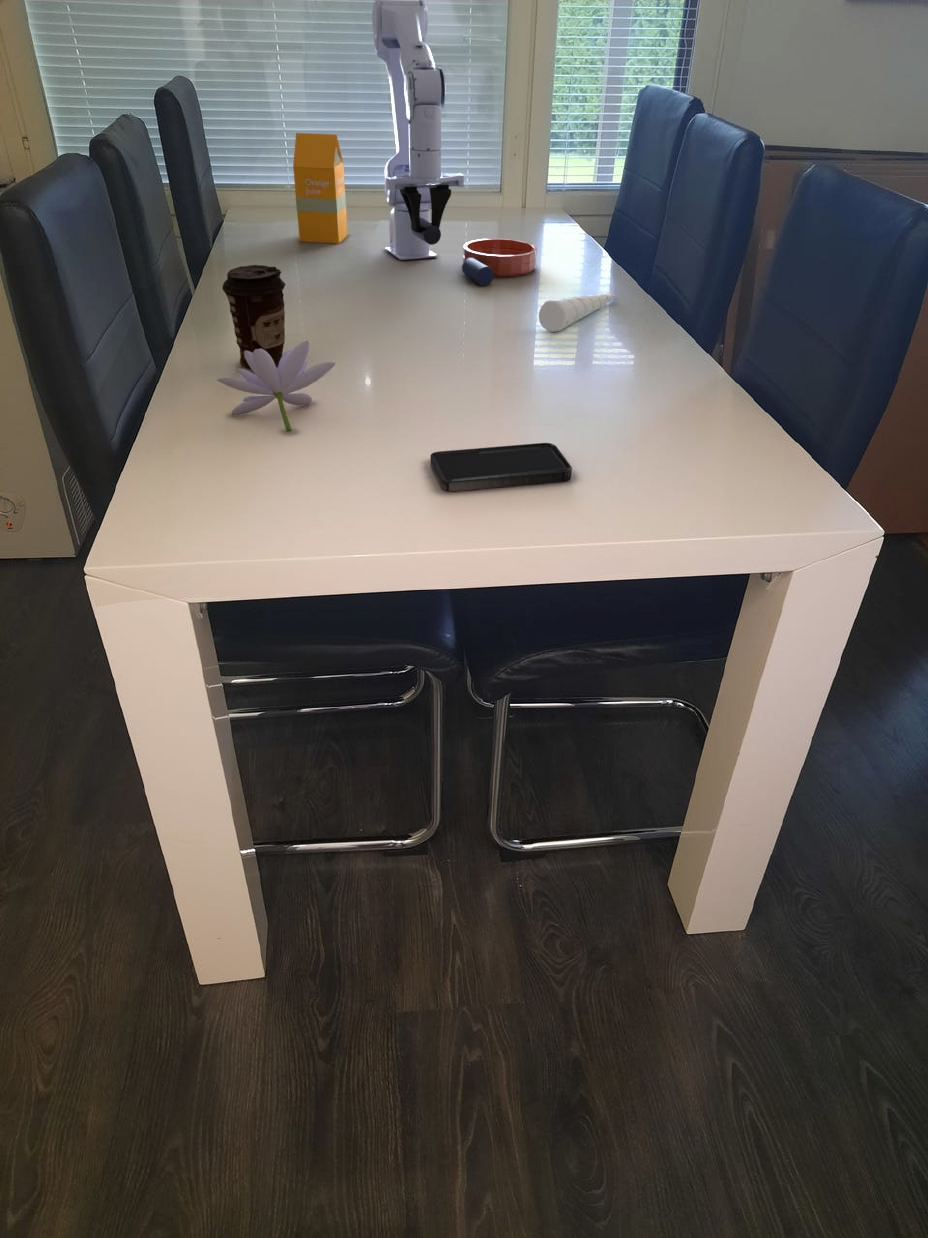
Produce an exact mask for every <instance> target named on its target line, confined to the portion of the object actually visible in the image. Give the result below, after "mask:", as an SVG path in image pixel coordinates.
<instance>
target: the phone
mask: <svg viewBox="0 0 928 1238" xmlns="http://www.w3.org/2000/svg"><path fill="white" fill-rule="evenodd" d="M429 458H430V467H431V470H432V473H433V474H434V476H435V478H436V481H437V483H438V485H439V487H440V489H441V490H443V491H445V492H459V491H460V492H461V491H470V490H471V491H472V490H481V489H482V490H483V489H493V488H504V487H515V486H527V485H537V484H538V485H539V484H547V483H559V482H567V481H569V480H570V479H572V471H573V467H572V465H571V464H570V463H569V462H568V460H567V459H566V457H565V456H564V454H563V453H562V452H561V451H560V449H559V448H558V446H557V445H555V444H554V443H550V442H537V443H526V444H514V445H513V444H512V445H500V446H489V447H478V448H477V447H475V448H466V449H465V448H464V449H452V450H440V451H434V452H432V453H431V454H430V457H429Z"/></svg>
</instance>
